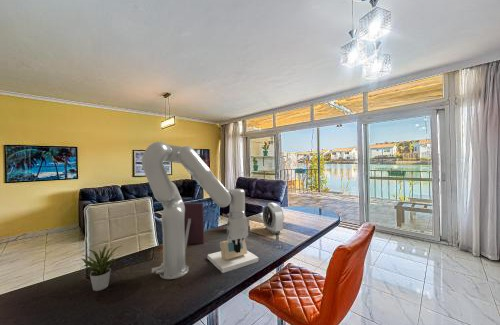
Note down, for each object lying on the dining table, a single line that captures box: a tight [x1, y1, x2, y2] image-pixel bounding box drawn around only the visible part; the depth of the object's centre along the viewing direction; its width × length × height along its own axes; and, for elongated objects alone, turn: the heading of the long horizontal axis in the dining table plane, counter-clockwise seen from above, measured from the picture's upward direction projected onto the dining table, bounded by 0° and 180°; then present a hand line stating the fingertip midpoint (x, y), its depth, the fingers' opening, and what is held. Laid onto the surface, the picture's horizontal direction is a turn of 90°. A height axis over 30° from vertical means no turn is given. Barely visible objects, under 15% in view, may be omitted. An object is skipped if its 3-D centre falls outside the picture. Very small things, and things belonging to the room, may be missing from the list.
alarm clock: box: [262, 202, 285, 235], centre depth 157 cm, size 18×8×20 cm, turn 25°
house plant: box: [81, 244, 122, 292], centre depth 90 cm, size 14×14×16 cm
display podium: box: [207, 250, 260, 274], centre depth 112 cm, size 20×18×2 cm
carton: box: [219, 238, 248, 260], centre depth 111 cm, size 12×8×5 cm
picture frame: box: [183, 202, 205, 250], centre depth 131 cm, size 17×10×25 cm, turn 84°
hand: (237, 251), depth 107 cm, fingers closed
